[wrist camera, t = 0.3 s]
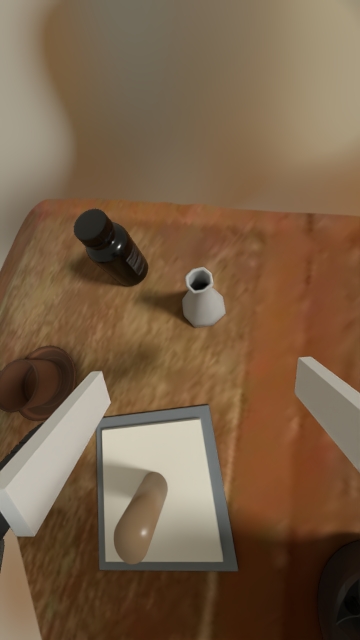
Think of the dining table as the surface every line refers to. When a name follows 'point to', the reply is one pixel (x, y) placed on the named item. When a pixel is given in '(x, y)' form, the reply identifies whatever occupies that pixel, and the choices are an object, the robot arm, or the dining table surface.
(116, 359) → the dining table surface
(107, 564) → the mat
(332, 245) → the dining table surface
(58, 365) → the cup and saucer
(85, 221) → the supplement bottle
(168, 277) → the dining table surface
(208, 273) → the flask
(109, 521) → the board
